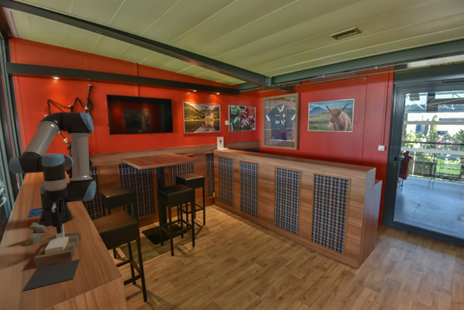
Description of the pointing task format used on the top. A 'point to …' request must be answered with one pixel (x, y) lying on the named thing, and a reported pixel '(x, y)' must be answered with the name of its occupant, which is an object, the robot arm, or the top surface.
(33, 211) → the handheld gaming device
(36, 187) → the top surface
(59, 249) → the block
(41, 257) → the brown wooden flat slab
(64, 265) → the mat
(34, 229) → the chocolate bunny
